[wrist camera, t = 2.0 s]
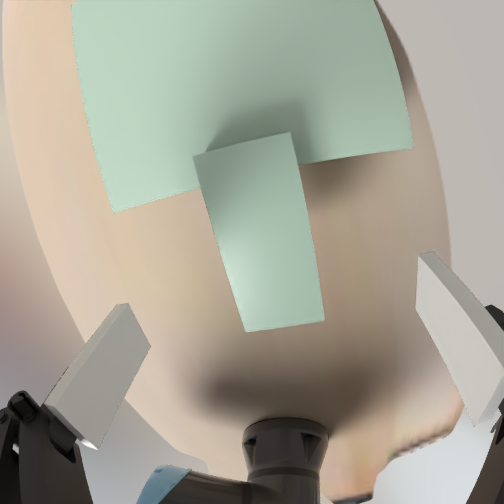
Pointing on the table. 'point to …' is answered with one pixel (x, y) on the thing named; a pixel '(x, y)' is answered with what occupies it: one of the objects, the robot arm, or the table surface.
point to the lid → (239, 121)
